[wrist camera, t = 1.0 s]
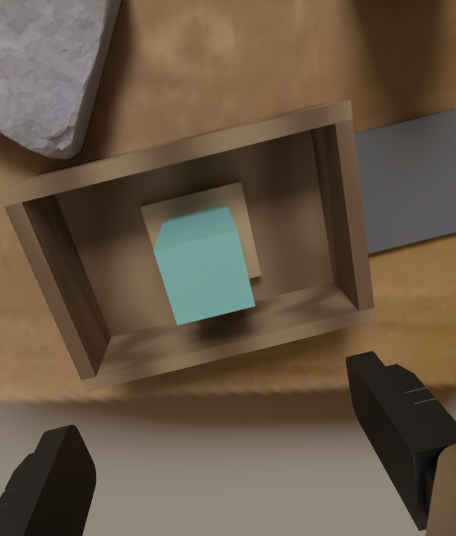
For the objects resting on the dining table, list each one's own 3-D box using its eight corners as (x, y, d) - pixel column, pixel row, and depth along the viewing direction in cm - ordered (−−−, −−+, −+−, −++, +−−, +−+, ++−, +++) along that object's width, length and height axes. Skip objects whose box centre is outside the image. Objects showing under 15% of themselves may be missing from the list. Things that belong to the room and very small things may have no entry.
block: (227, 204, 27) (237, 230, 21) (241, 264, 29) (255, 305, 22) (163, 220, 27) (153, 251, 21) (181, 279, 29) (177, 325, 22)
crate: (318, 104, 27) (350, 100, 22) (344, 286, 32) (375, 320, 27) (36, 175, 27) (-4, 189, 22) (105, 345, 32) (86, 392, 27)
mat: (454, 108, 28) (459, 108, 28) (457, 228, 31) (462, 230, 31) (330, 139, 28) (333, 140, 28) (346, 256, 31) (349, 258, 31)
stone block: (-43, 115, 28) (92, 167, 28) (-105, 105, 23) (56, 167, 23) (-10, -78, 24) (142, -19, 24) (-74, -135, 20) (112, -64, 20)
